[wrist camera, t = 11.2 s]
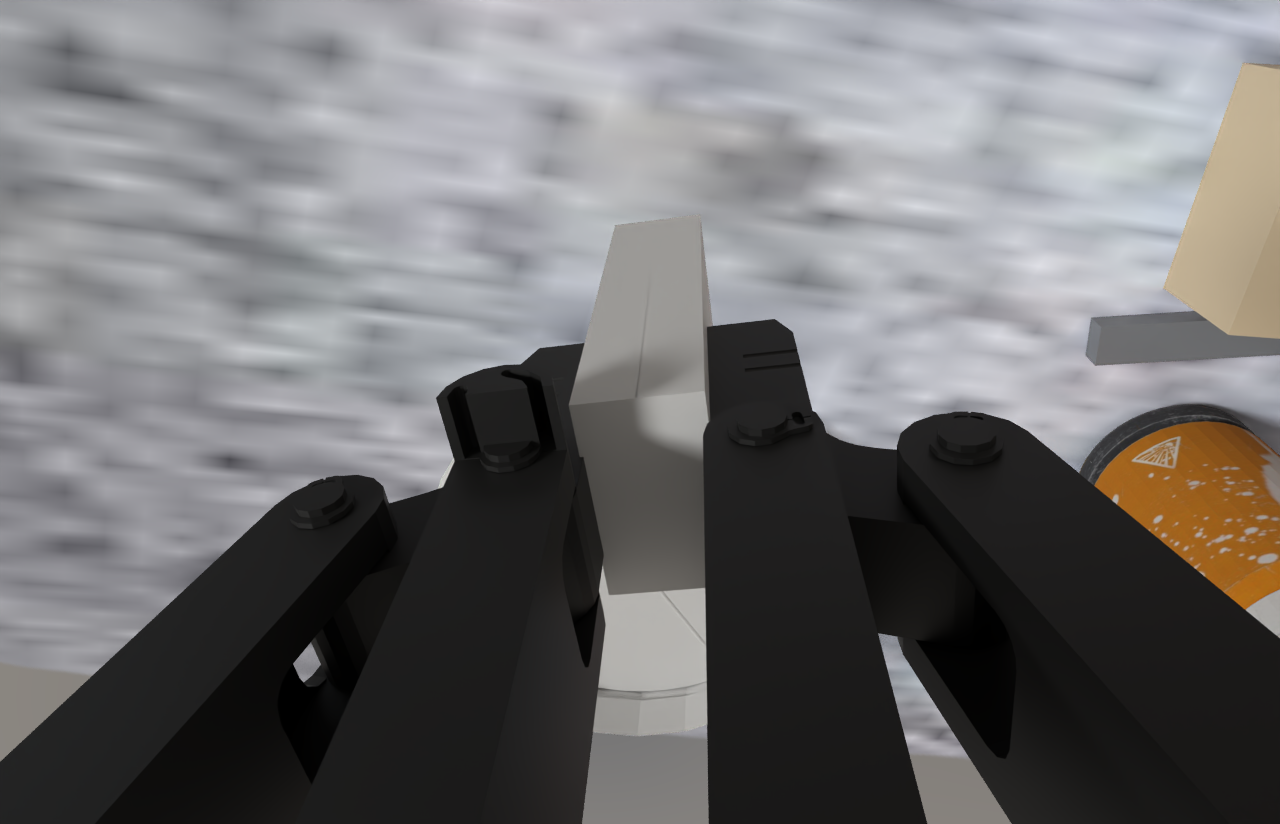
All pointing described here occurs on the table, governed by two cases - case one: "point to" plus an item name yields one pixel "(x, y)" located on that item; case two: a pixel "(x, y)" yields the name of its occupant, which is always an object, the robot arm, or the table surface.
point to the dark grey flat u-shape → (1168, 340)
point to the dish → (650, 661)
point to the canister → (1201, 497)
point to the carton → (1237, 216)
